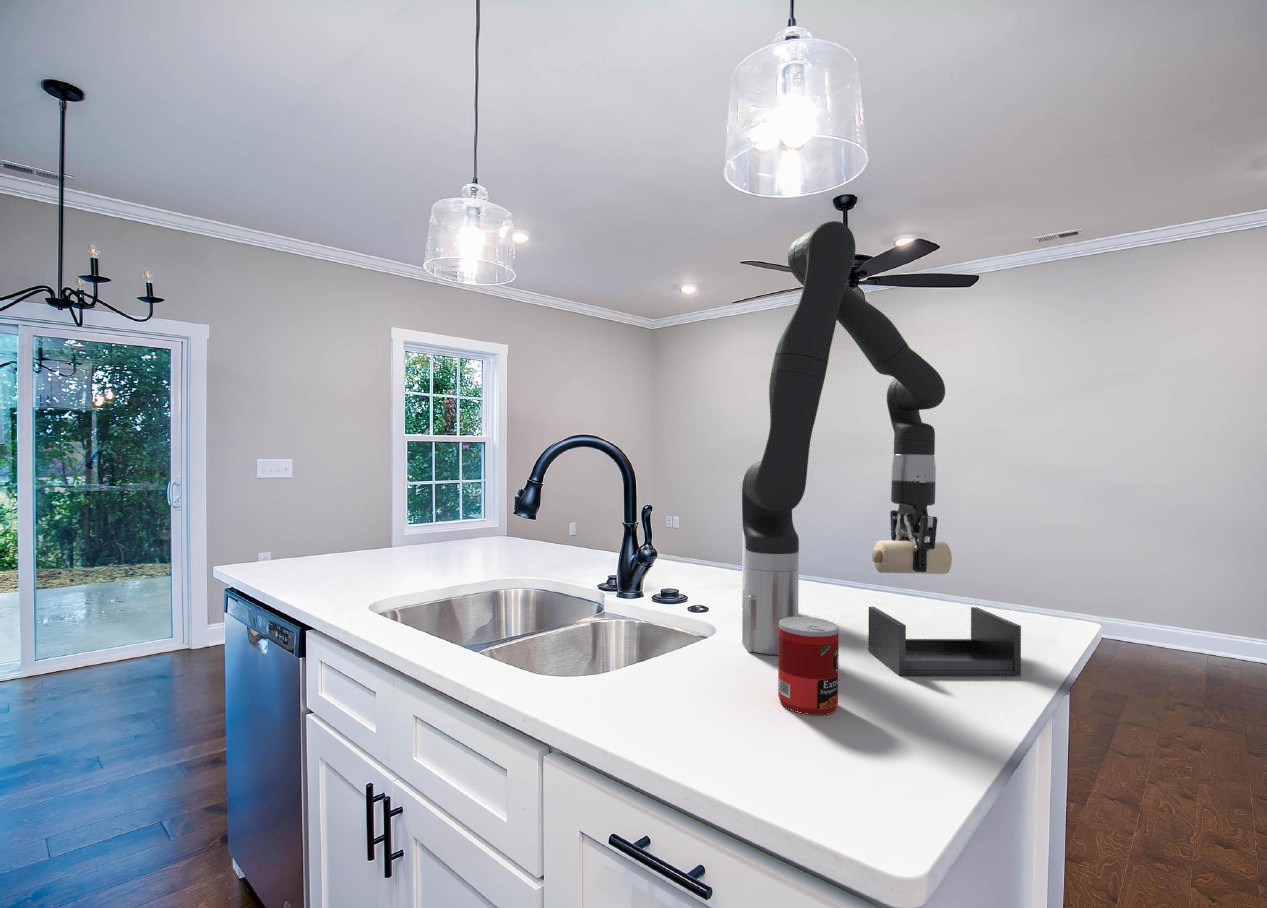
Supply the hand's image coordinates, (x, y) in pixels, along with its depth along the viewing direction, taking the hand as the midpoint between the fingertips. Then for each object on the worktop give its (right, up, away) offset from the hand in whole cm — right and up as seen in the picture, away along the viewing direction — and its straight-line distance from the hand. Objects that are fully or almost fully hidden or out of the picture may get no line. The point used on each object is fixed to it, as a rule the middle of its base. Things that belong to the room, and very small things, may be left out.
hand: (911, 568), depth 116 cm
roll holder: (-2, -13, -14) cm, 19 cm away
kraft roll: (0, -1, 0) cm, 1 cm away
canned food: (-28, -13, -32) cm, 44 cm away
